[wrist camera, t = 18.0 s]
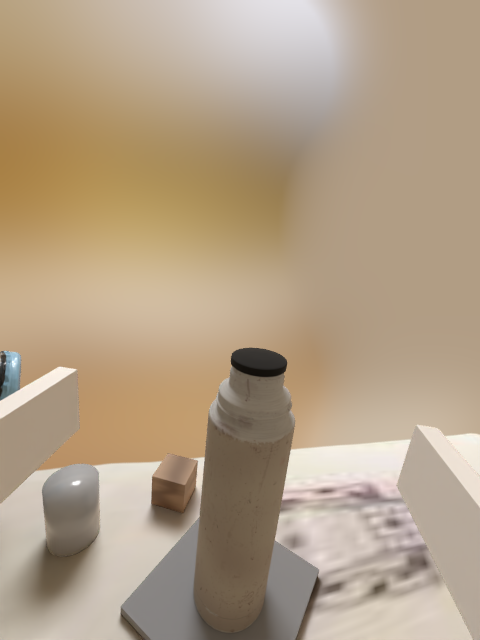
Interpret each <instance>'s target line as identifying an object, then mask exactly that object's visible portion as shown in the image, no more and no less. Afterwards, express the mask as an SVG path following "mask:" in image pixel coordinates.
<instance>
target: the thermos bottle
mask: <svg viewBox="0 0 480 640" xmlns="http://www.w3.org/2000/svg"><path fill="white" fill-rule="evenodd" d="M231 364H232V367H231V370H230V377H229V378H228V379H225V380H224V381H223V382H222V383H221V384H220V386H219V392H218V394H217V396H216V400H215V401H214V402H213V403H212V404H211V406H210V409H209V416H208V428H207V439H206V450H205V461H204V473H203V484H202V495H201V507H200V518H199V529H198V541H197V552H196V563H195V575H194V592H193V594H194V600H195V604H196V607H197V610H198V612H199V613H200V615H201V617H202V618H203V619H204V621H205V622H206V623H207V624H208V625H210V626H211V627H212V628H214V629H216V630H218V631H221V632H225V633H235V632H239V631H242V630H244V629H246V628H247V627H249V626H250V625H251V624H252V623H253V622H254V621H255V620H256V619H257V617H258V616H259V614H260V612H261V610H262V607H263V604H264V598H265V593H266V587H267V581H268V575H269V569H270V564H271V558H272V552H273V547H274V541H275V535H276V530H277V524H278V518H279V513H280V507H281V501H282V495H283V490H284V484H285V478H286V473H287V467H288V461H289V455H290V450H291V444H292V438H293V433H294V427H295V418H294V415H293V413H292V412H291V407H292V403H291V395H290V392H289V391H288V389H287V388H285V386H284V385H283V383H284V372H285V371H286V367H287V360H286V359H285V358H284V357H283V356H282V355H280V354H278V353H276V352H273V351H270V350H266V349H259V348H243V349H239V350H236V351H235V352H233V353H232V356H231Z"/></svg>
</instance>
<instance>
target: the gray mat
mask: <svg viewBox="0 0 480 640" xmlns="http://www.w3.org/2000/svg"><path fill="white" fill-rule="evenodd" d="M199 518H200V517H199ZM199 518H198V520H197V521H196V522H195V523H194V524H193V525H192V526H191V528H190V529H189V530H188V531H187V532H186V533H185V534H184V535H183V537H182V538H181V539H180V540H179V541H178V542H177V543H176V545H175V546H174V547H173V548H172V549H171V550H170V551H169V553H168V554H167V555H166V556H165V557H164V558H163V559H162V560H161V562H160V563H159V564H158V565H157V566H156V567H155V568H154V570H153V571H152V572H151V573H150V574H149V575H148V576H147V577H146V579H145V580H144V581H143V582H142V583H141V584H140V585H139V587H138V588H137V589H136V590H135V591H134V592H133V593H132V595H131V596H130V597H129V598H128V599H127V600H126V601H125V602H124V604H123V605H122V606H121V614H122V615H123V616H124V618H125V619H126V620H127V621H128V622H129V623H130V624H131V625H132V626H133V628H134V629H135V630H136V631H137V632H138V633H139V634H140V635H141V636H142V637H143V639H144V640H296V638H297V635H298V632H299V629H300V626H301V623H302V620H303V617H304V614H305V611H306V609H307V606H308V603H309V600H310V597H311V594H312V591H313V588H314V585H315V582H316V579H317V576H318V572H319V569H317V568H316V567H314V566H313V565H311V564H310V563H308V562H307V561H305V560H304V559H302V558H301V557H299V556H298V555H296V554H294V553H293V552H291V551H290V550H288V549H287V548H285V547H284V546H282V545H281V544H279V543H278V542H276V541H274V547H273V552H272V558H271V564H270V569H269V575H268V581H267V587H266V593H265V598H264V604H263V607H262V610H261V612H260V614H259V616H258V617H257V619H256V620H255V621H254V622H253V623H252V624H251V625H250V626H249V627H247V628H246V629H244V630H242V631H239V632H235V633H225V632H221V631H218V630H216V629H214V628H212V627H211V626H210V625H208V624H207V623H206V622H205V621H204V619H203V618H202V617H201V615H200V613H199V612H198V610H197V607H196V604H195V600H194V594H193V592H194V575H195V563H196V552H197V541H198V529H199Z"/></svg>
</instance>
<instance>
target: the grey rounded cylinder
mask: <svg viewBox="0 0 480 640" xmlns="http://www.w3.org/2000/svg"><path fill="white" fill-rule="evenodd" d="M42 495H43V506H44V518H45V530H46V542H47V548H48V550H49V551H50V552H51V553H52V554H54V555H56V556H70V555H74V554H76V553H78V552H80V551H82V550H84V549H85V548H86V547H88V546H89V545H90V544H91V543H92V542H93V541H94V539H95V538H96V536H97V535H98V532H99V529H100V503H99V473H98V471H97V469H96V468H95V467H93V466H91V465H88V464H74V465H70V466H67V467H64V468H62V469H60V470H58V471H56V472H55V473H54V474H52V475H51V476H50V477H49V478H48V479H47V480H46V482H45V483H44V485H43V489H42Z"/></svg>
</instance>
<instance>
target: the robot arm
mask: <svg viewBox="0 0 480 640" xmlns="http://www.w3.org/2000/svg"><path fill="white" fill-rule="evenodd" d="M20 373H21V356H20V354H19V353H17V352H9V351H1V352H0V504H1V503H2V502H3V501H4V500H5V499H6V498H7V497H8V496H9V495H10V494H11V493H12V492H13V491H14V490H16V489H17V488H18V487H19V486H20V485H21V484H22V483H23V482H24V481H25V480H26V479H27V478H28V477H29V476H30V475H31V474H32V473H33V472H34V471H35V470H37V469H38V468H39V467H40V466H41V465H42V464H43V463H44V462H45V461H46V460H47V459H48V458H49V457H50V456H51V455H52V454H53V453H54V452H55V451H56V450H58V448H60V446H62V445H63V444H64V443H65V442H66V441H67V440H68V439H69V438H70V437H71V436H72V435H73V434H74V433H75V432H76V431H77V430H79V428H80V424H79V401H78V400H79V399H78V374H77V369H70V368H64V367H58V368H57V369H55V370H53V371H51V372H49V373H48V374H46V375H44V376H42V377H41V378H39V379H37V380H35V381H34V382H32V383H30V384H29V385H27V386H25V387H24V388H22V389H20ZM397 487H398V489H399V491H400V493H401V495H402V497H403V499H404V501H405V503H406V505H407V507H408V509H409V511H410V513H411V515H412V517H413V519H414V521H415V523H416V525H417V527H418V529H419V531H420V533H421V535H422V538H423V540H424V542H425V544H426V546H427V548H428V550H429V552H430V554H431V556H432V558H433V560H434V562H435V564H436V566H437V568H438V570H439V572H440V574H441V576H442V578H443V580H444V582H445V584H446V586H447V588H448V590H449V592H450V594H451V596H452V598H453V600H454V602H455V604H456V606H457V608H458V610H459V612H460V614H461V616H462V618H463V620H464V622H465V624H466V626H467V628H468V630H469V632H470V634H471V636H472V638H473V640H480V476H479V475H478V474H477V472H476V471H475V470H474V469H473V468H472V467H471V466H470V464H469V463H468V462H467V461H466V460H465V459H464V458H463V456H462V455H461V454H460V453H459V452H458V451H457V450H456V448H455V447H454V446H453V445H452V444H451V443H450V441H449V440H448V439H447V438H446V437H445V436H444V435H443V433H442V432H441V431H440V430H439V429H438V428H433V427H427V426H421V425H416V426H415V429H414V432H413V436H412V439H411V442H410V445H409V448H408V451H407V454H406V458H405V461H404V464H403V467H402V470H401V473H400V476H399V480H398V483H397Z"/></svg>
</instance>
